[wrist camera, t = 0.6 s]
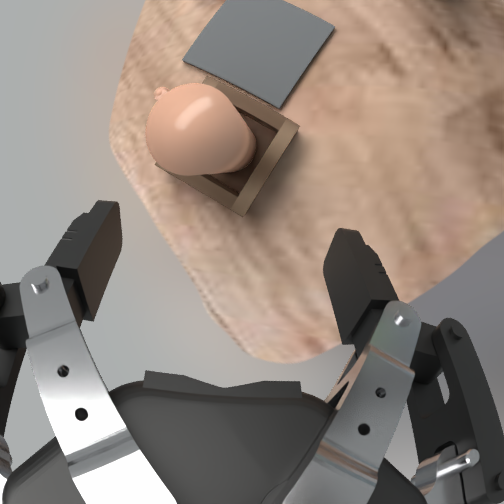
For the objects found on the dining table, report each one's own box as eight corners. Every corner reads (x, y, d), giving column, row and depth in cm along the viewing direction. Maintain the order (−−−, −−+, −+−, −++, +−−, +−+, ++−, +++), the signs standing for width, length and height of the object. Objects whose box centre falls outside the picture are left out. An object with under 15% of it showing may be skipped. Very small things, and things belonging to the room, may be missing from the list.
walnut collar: (213, 84, 31) (207, 75, 28) (297, 130, 32) (299, 125, 28) (166, 164, 34) (154, 164, 31) (246, 212, 35) (242, 217, 31)
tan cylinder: (267, 146, 33) (258, 127, 17) (229, 183, 34) (188, 195, 19) (216, 96, 31) (169, 46, 16) (179, 133, 33) (108, 112, 18)
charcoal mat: (240, -14, 27) (240, -17, 26) (334, 28, 28) (335, 26, 27) (183, 61, 30) (181, 59, 30) (278, 109, 31) (278, 108, 31)
